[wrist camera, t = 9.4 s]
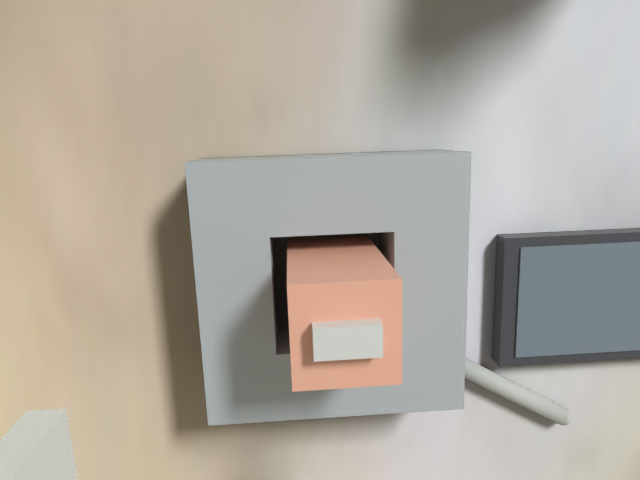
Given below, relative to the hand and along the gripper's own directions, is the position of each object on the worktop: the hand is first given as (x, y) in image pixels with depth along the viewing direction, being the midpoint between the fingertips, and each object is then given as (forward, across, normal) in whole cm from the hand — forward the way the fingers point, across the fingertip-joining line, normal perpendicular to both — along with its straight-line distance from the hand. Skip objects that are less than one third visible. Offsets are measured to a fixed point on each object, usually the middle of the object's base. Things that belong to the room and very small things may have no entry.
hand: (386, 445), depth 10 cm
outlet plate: (+16, 0, -1) cm, 16 cm away
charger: (+15, 0, -1) cm, 15 cm away
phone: (+16, +16, -3) cm, 22 cm away
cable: (+15, +9, -8) cm, 20 cm away
